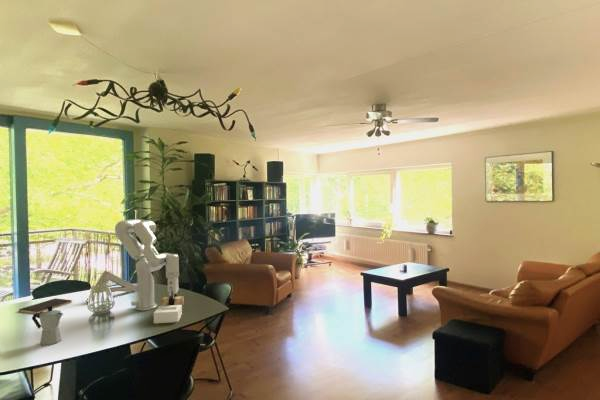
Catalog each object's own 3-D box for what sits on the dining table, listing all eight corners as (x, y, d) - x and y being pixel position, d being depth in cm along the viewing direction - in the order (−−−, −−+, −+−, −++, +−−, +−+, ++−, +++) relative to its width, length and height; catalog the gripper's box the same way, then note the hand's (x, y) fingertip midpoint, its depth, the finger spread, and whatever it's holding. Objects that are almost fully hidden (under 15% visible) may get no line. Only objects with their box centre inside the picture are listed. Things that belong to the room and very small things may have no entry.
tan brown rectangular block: (161, 313, 212) (161, 299, 211) (163, 310, 216) (163, 297, 216) (182, 312, 213) (182, 298, 213) (183, 309, 218) (183, 296, 218)
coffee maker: (69, 338, 176) (68, 302, 176) (58, 345, 167) (57, 308, 167) (39, 338, 176) (38, 303, 175) (26, 346, 167) (25, 309, 167)
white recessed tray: (153, 323, 195) (153, 312, 195) (159, 316, 207) (159, 306, 207) (178, 322, 197) (177, 311, 197) (181, 314, 209) (181, 304, 209)
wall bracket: (124, 317, 253) (89, 302, 232) (121, 316, 255) (85, 301, 234) (140, 288, 263) (107, 271, 242) (136, 287, 266) (104, 270, 244)
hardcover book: (72, 303, 235) (72, 300, 235) (37, 315, 213) (37, 311, 213) (54, 301, 240) (54, 298, 239) (18, 312, 218) (18, 308, 218)
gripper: (176, 277, 207) (176, 307, 207) (181, 271, 224) (181, 298, 224) (162, 278, 205) (163, 308, 206) (169, 271, 223) (169, 299, 223)
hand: (172, 302), depth 215 cm, fingers open, 7 cm apart
